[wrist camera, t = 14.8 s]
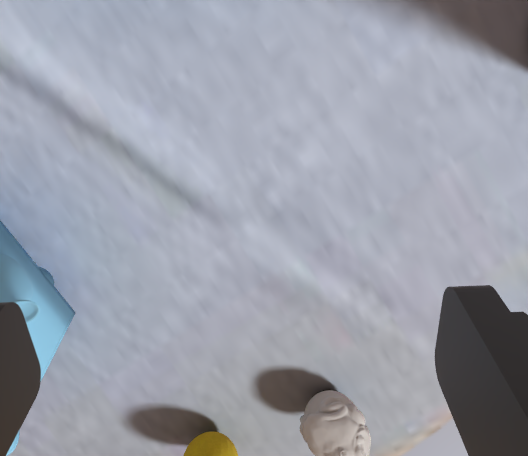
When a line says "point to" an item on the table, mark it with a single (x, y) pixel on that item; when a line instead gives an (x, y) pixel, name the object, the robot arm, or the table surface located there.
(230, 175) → the table surface
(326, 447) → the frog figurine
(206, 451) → the lemon
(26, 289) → the teakettle
